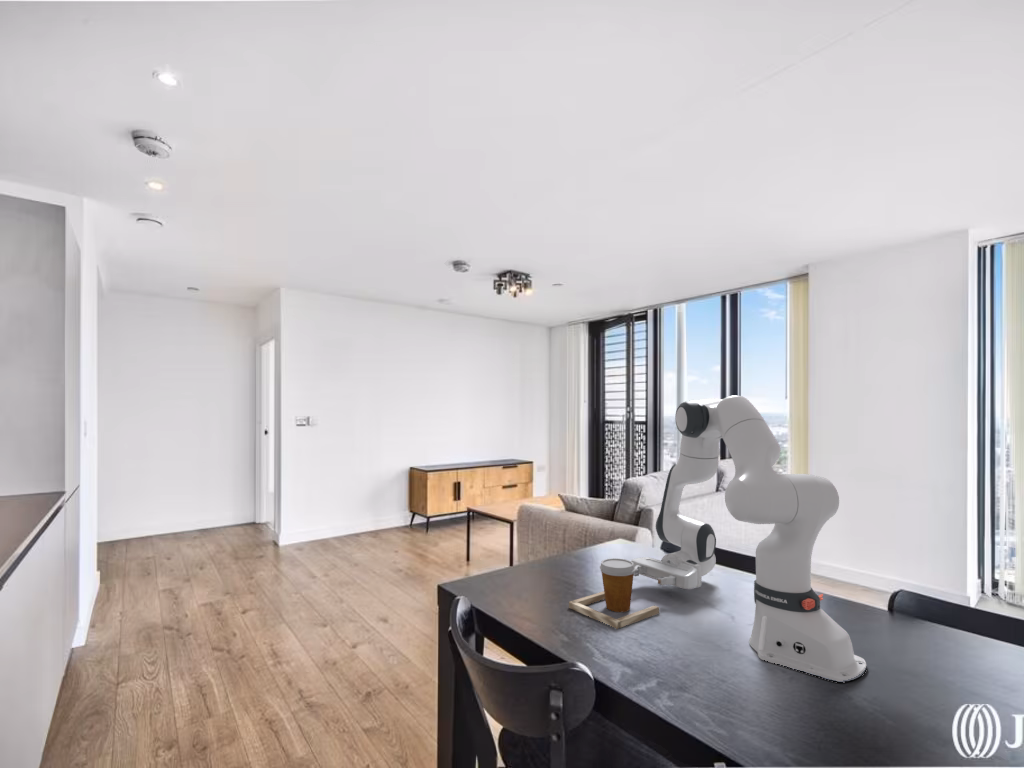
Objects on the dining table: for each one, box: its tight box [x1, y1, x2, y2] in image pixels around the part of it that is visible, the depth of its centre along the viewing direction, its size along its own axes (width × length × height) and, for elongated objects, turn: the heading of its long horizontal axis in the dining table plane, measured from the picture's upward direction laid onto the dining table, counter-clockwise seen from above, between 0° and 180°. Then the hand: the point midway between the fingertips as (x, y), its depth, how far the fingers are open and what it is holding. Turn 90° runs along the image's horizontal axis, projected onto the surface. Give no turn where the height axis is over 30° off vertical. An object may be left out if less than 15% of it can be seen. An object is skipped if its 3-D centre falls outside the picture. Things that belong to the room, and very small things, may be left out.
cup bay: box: [568, 590, 660, 630], centre depth 140 cm, size 17×16×2 cm
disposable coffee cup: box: [599, 558, 635, 613], centre depth 142 cm, size 10×10×12 cm
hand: (646, 577), depth 148 cm, fingers open, 8 cm apart
